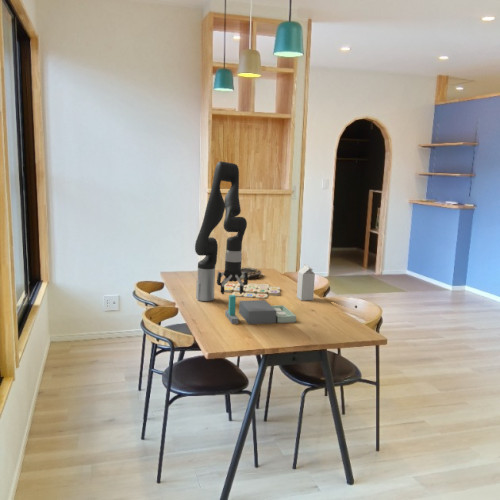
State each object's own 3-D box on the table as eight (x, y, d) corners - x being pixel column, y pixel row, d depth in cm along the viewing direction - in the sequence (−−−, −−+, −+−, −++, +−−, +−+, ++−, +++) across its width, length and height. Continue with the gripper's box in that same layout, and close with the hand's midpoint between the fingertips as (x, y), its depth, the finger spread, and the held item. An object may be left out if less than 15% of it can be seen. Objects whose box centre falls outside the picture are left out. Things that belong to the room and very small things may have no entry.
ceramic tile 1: (286, 314, 233) (286, 318, 234) (284, 311, 237) (283, 315, 237) (278, 314, 232) (278, 318, 233) (276, 312, 236) (276, 316, 236)
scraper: (231, 324, 224) (232, 299, 222) (225, 315, 237) (225, 292, 235) (238, 324, 225) (239, 299, 223) (231, 314, 238) (232, 291, 236)
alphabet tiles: (280, 286, 301) (281, 283, 301) (278, 300, 269) (279, 296, 269) (227, 283, 304) (227, 279, 304) (218, 296, 272) (218, 292, 272)
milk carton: (301, 300, 269) (303, 266, 266) (296, 297, 276) (298, 264, 273) (313, 300, 271) (315, 266, 268) (308, 297, 278) (310, 264, 274)
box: (277, 322, 228) (278, 316, 228) (266, 311, 246) (266, 305, 245) (295, 322, 231) (296, 316, 230) (283, 311, 248) (283, 305, 248)
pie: (274, 278, 324) (274, 270, 323) (245, 284, 305) (245, 276, 304) (244, 270, 343) (245, 263, 342) (215, 275, 324) (215, 268, 323)
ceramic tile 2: (281, 310, 239) (281, 314, 239) (279, 308, 243) (279, 312, 243) (274, 310, 238) (273, 314, 238) (271, 308, 242) (271, 312, 242)
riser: (248, 324, 225) (249, 311, 224) (239, 312, 242) (239, 300, 241) (275, 323, 228) (276, 310, 227) (264, 311, 245) (264, 300, 244)
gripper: (246, 258, 232) (244, 291, 235) (216, 258, 229) (215, 291, 231) (250, 261, 225) (248, 295, 228) (219, 261, 221) (218, 296, 224)
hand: (231, 293), depth 230 cm, fingers open, 8 cm apart
